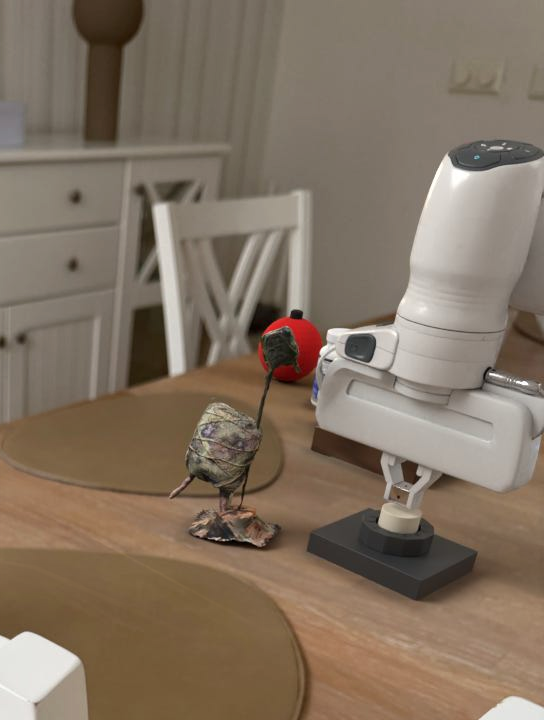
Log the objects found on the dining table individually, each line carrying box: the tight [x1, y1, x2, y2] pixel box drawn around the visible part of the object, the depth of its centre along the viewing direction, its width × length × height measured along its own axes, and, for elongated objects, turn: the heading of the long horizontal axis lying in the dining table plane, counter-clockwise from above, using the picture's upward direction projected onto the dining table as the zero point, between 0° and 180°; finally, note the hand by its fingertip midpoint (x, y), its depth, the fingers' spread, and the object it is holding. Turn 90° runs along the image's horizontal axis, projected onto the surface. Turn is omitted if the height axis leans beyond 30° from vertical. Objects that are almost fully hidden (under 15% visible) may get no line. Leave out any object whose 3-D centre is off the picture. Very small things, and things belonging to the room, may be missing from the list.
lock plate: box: [310, 424, 445, 485], centre depth 117 cm, size 14×10×3 cm
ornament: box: [258, 308, 323, 382], centre depth 141 cm, size 9×9×10 cm
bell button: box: [378, 502, 423, 534], centre depth 91 cm, size 4×4×2 cm
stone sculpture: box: [168, 326, 301, 548], centre depth 92 cm, size 8×11×20 cm
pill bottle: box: [310, 327, 353, 407], centre depth 132 cm, size 6×6×10 cm
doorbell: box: [306, 507, 479, 602], centre depth 92 cm, size 12×10×4 cm
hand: (401, 503), depth 91 cm, fingers closed
